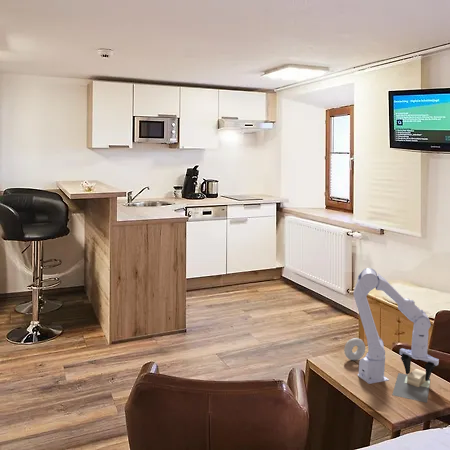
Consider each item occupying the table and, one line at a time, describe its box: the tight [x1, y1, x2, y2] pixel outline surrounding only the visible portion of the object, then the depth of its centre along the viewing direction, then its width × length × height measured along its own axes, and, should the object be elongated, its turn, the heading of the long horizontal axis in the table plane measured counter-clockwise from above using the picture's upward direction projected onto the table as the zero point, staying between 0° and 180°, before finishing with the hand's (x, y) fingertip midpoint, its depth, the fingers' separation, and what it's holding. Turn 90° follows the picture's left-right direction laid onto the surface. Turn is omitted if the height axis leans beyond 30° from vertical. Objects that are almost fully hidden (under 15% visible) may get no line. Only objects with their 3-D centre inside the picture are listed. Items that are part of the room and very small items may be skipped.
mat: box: [391, 372, 431, 404], centre depth 182 cm, size 20×12×1 cm, turn 154°
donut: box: [343, 337, 366, 361], centre depth 206 cm, size 10×4×10 cm, turn 108°
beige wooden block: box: [407, 368, 426, 387], centre depth 186 cm, size 8×4×3 cm, turn 135°
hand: (417, 376), depth 186 cm, fingers open, 7 cm apart
